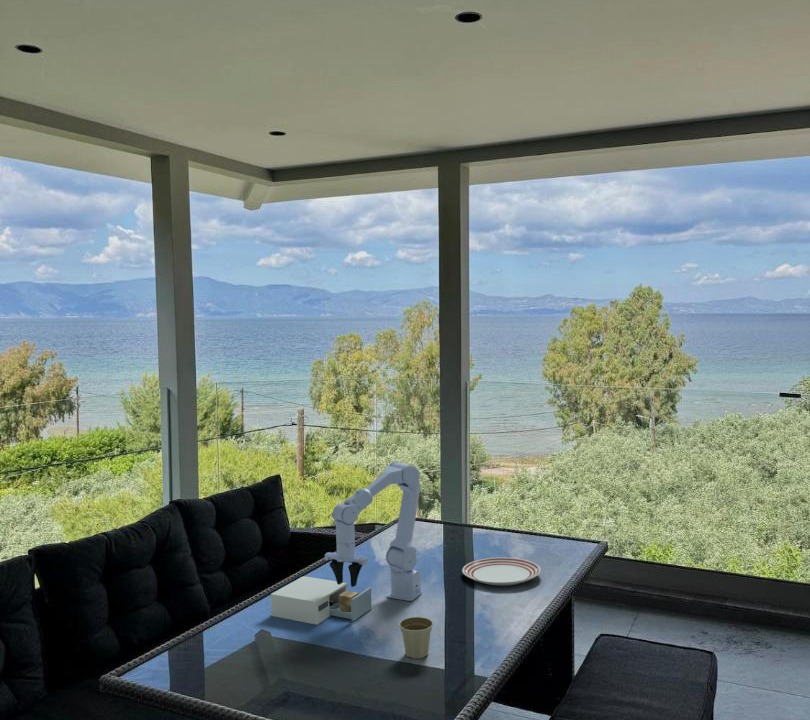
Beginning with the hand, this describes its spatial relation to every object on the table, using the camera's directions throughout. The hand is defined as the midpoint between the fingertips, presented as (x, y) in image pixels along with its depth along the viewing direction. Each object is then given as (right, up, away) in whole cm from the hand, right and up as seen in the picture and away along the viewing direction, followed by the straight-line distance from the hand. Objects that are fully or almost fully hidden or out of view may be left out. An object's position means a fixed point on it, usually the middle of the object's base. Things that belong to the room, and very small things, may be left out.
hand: (346, 584), depth 242 cm
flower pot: (+21, -10, -30) cm, 39 cm away
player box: (-12, -9, +3) cm, 15 cm away
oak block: (+1, -8, +1) cm, 8 cm away
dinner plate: (+52, -6, +30) cm, 61 cm away
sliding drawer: (0, -9, +1) cm, 9 cm away
